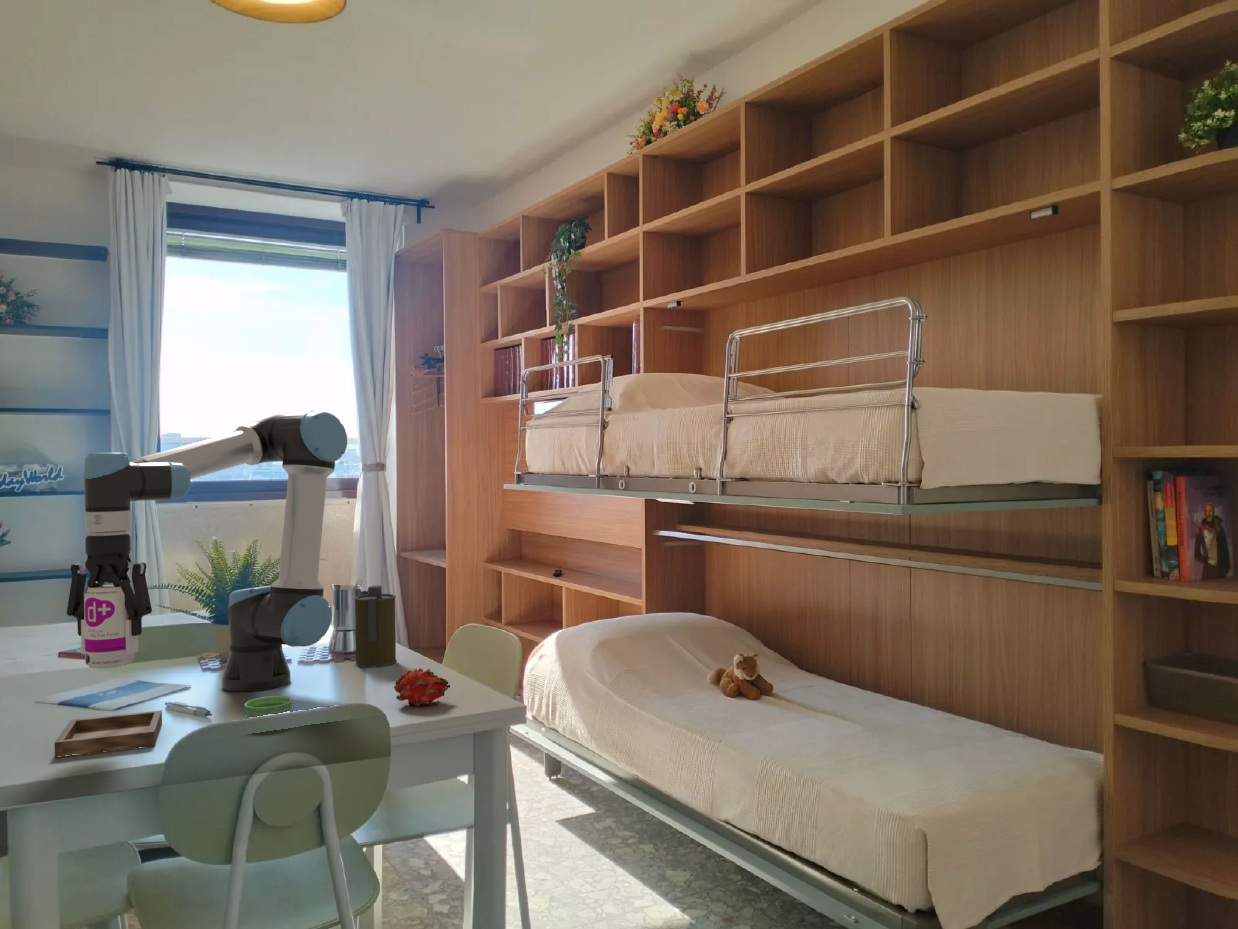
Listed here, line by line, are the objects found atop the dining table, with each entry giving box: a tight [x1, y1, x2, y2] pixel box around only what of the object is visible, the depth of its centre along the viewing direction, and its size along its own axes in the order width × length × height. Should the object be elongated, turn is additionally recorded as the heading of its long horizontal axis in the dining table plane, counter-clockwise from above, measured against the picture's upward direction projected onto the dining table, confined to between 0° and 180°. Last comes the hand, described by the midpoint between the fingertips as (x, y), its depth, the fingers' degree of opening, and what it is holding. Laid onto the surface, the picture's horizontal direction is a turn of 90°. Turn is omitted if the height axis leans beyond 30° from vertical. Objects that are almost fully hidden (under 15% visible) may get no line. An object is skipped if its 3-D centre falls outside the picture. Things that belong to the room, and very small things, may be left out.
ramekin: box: [244, 695, 293, 719], centre depth 186 cm, size 9×9×4 cm
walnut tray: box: [54, 710, 163, 758], centre depth 175 cm, size 16×16×3 cm
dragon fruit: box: [393, 668, 451, 707], centre depth 198 cm, size 8×8×12 cm
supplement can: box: [84, 583, 136, 670], centre depth 175 cm, size 8×8×15 cm
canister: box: [354, 584, 397, 668], centre depth 239 cm, size 11×10×20 cm
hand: (110, 652), depth 175 cm, fingers closed on supplement can, 8 cm apart
